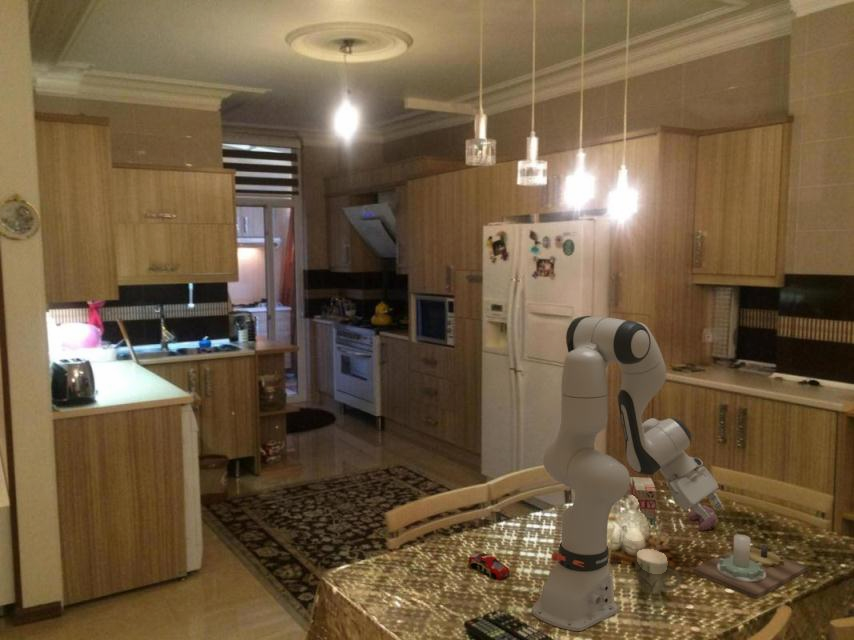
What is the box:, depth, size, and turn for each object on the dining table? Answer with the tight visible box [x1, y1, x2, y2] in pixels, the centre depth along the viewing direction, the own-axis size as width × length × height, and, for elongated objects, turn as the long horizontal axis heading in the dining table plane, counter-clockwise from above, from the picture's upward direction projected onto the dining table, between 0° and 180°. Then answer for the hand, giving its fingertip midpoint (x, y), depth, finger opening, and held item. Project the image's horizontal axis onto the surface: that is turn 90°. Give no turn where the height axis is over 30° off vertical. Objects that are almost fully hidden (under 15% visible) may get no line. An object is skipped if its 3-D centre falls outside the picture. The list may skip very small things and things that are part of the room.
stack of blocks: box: [628, 476, 657, 526], centre depth 231 cm, size 21×6×12 cm, turn 169°
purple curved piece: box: [688, 504, 718, 532], centre depth 222 cm, size 10×5×7 cm, turn 1°
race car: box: [468, 552, 510, 581], centre depth 192 cm, size 13×5×4 cm, turn 39°
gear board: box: [691, 544, 809, 600], centre depth 190 cm, size 26×18×5 cm
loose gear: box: [719, 534, 764, 580], centre depth 187 cm, size 11×11×9 cm
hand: (714, 513), depth 190 cm, fingers open, 8 cm apart
